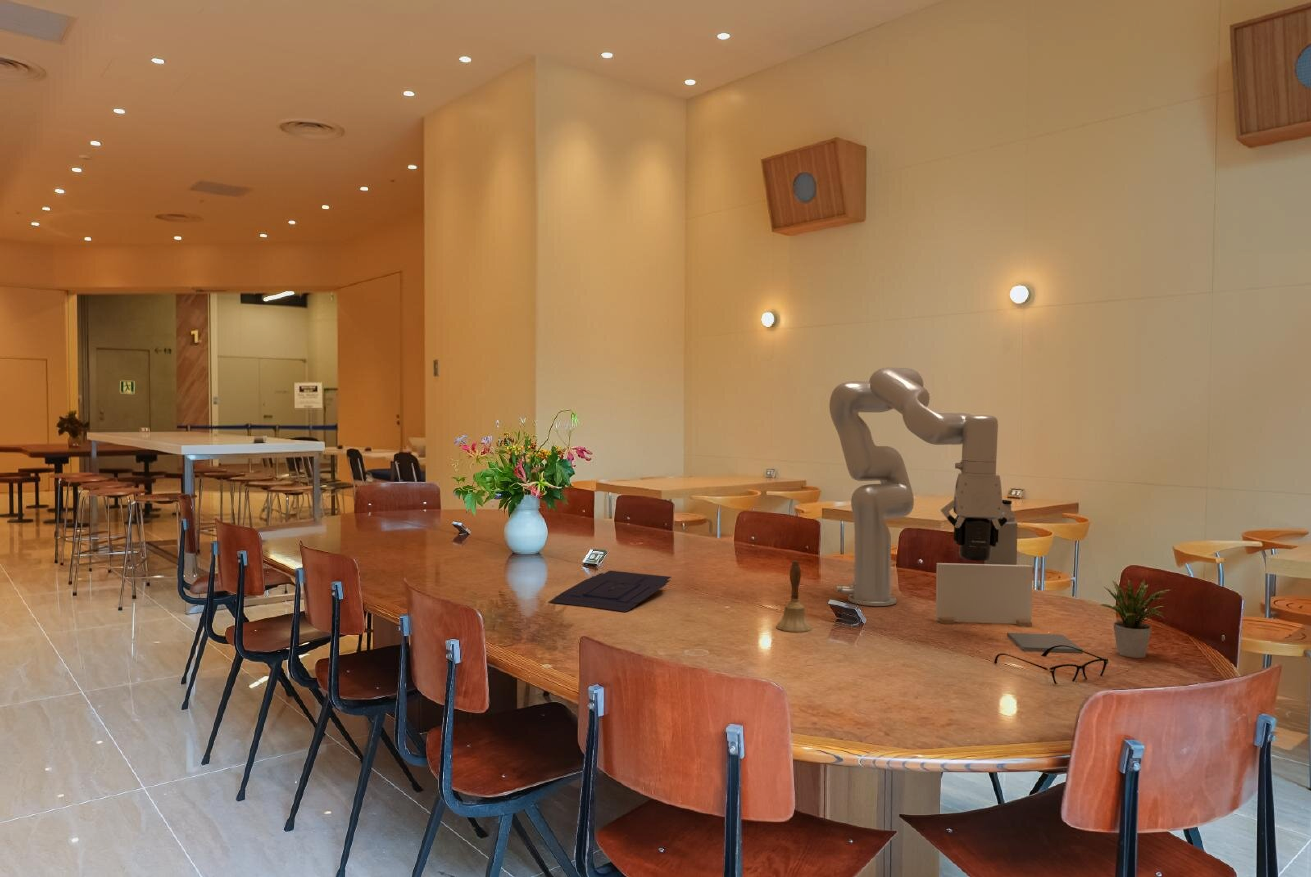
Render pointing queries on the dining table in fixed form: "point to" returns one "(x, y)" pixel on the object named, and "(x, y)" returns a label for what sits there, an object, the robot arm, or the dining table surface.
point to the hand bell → (794, 606)
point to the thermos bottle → (1005, 542)
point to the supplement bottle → (976, 539)
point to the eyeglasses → (1064, 664)
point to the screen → (984, 593)
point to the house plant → (1133, 620)
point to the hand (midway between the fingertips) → (975, 544)
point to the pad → (1043, 642)
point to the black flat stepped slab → (612, 590)
